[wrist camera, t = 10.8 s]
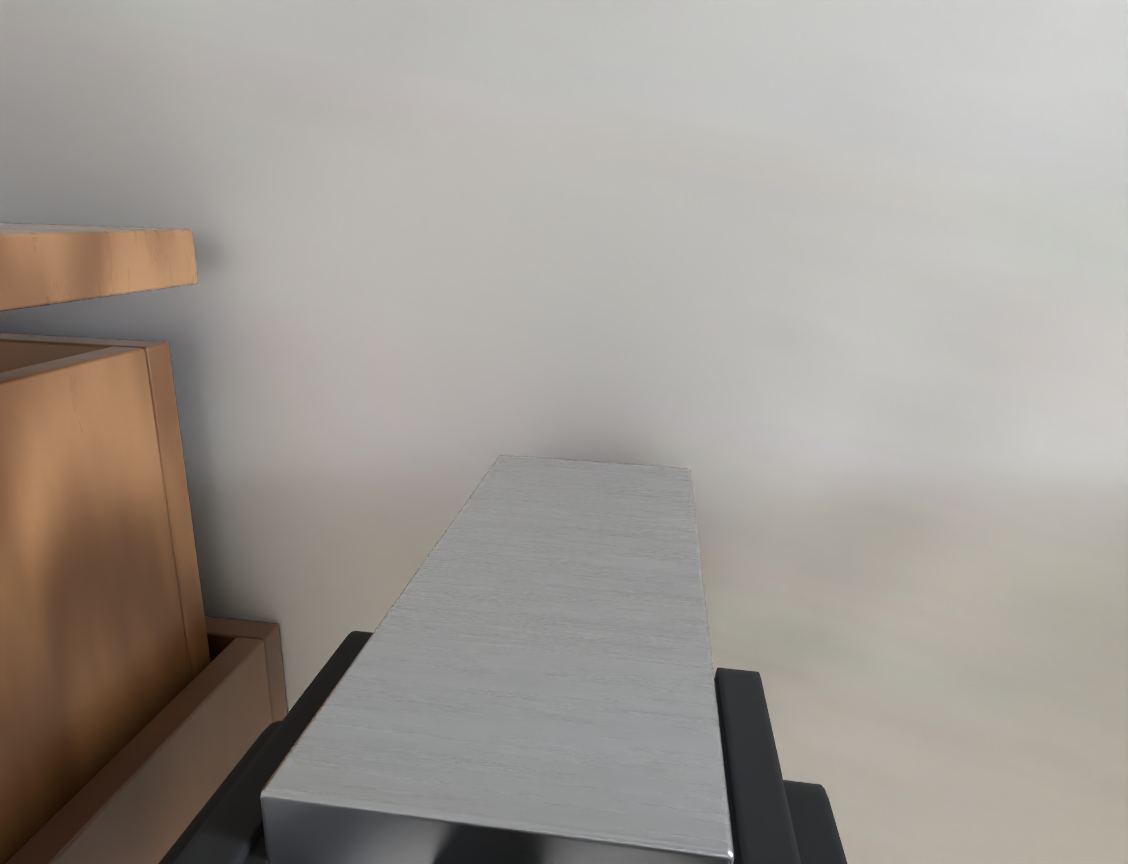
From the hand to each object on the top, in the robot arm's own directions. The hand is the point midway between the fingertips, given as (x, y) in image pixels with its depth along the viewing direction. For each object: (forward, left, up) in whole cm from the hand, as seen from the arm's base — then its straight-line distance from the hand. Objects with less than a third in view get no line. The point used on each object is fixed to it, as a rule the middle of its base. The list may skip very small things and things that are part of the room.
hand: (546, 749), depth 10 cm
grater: (+1, 0, -6) cm, 6 cm away
